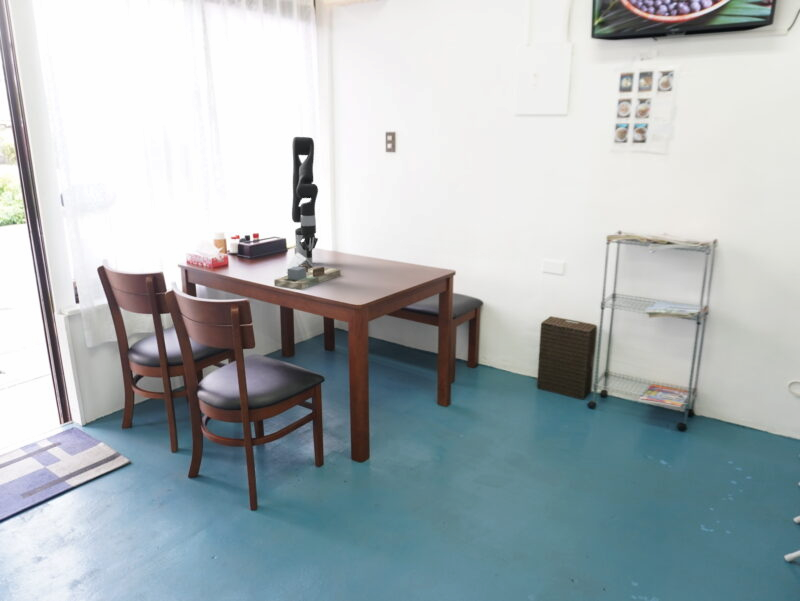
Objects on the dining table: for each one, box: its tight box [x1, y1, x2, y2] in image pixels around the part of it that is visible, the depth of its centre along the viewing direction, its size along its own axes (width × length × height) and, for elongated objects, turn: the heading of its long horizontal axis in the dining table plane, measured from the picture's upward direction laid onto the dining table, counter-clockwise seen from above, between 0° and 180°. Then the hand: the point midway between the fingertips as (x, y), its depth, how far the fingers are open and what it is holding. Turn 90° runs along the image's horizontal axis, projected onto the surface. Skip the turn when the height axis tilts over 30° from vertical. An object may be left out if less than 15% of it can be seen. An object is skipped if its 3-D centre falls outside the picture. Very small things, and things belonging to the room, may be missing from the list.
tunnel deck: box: [273, 265, 342, 290], centre depth 291 cm, size 16×35×6 cm, turn 153°
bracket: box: [285, 253, 315, 274], centre depth 317 cm, size 13×10×20 cm
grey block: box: [287, 266, 306, 280], centre depth 283 cm, size 6×7×5 cm
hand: (309, 257), depth 291 cm, fingers closed
